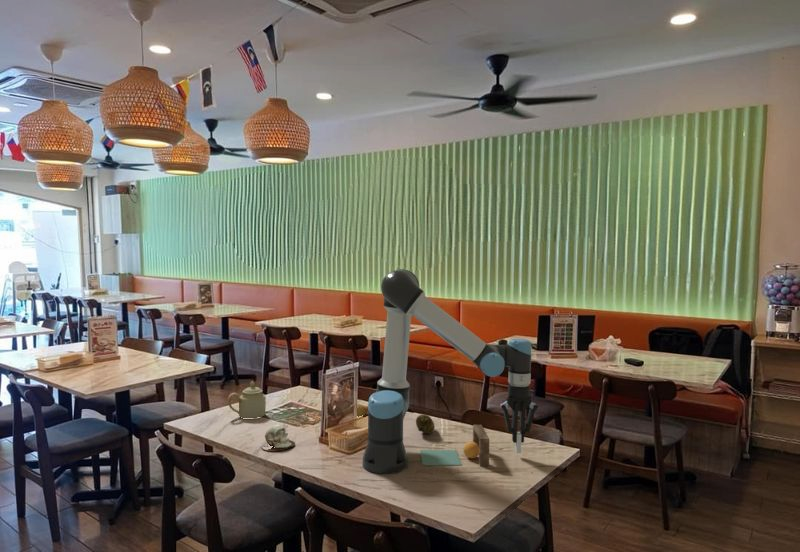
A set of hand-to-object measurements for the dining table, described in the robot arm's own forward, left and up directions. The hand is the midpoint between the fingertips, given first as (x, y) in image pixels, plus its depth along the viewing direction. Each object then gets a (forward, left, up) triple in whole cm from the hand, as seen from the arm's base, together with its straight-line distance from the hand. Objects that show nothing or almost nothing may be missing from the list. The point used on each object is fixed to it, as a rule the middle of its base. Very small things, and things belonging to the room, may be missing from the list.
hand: (517, 451), depth 182 cm
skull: (-85, +11, -3) cm, 86 cm away
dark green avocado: (-30, +25, -2) cm, 39 cm away
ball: (-16, 0, 0) cm, 16 cm away
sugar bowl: (-104, +45, -3) cm, 113 cm away
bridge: (-13, 0, -2) cm, 13 cm away
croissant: (-61, +44, -3) cm, 75 cm away
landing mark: (-27, 0, -2) cm, 27 cm away
